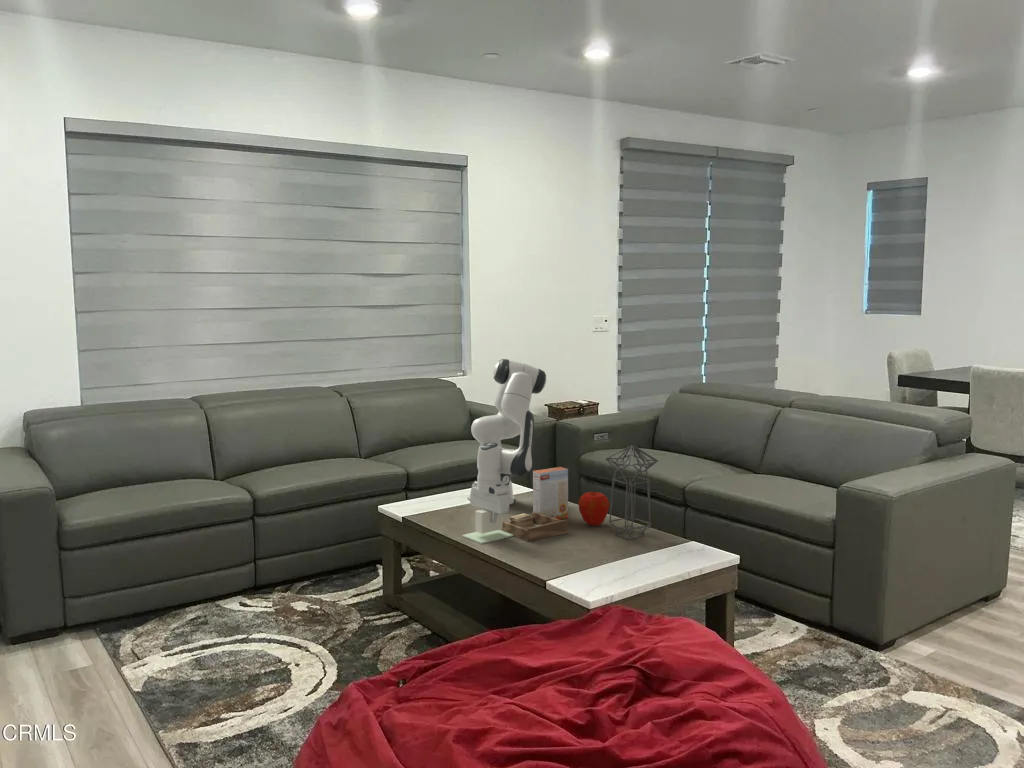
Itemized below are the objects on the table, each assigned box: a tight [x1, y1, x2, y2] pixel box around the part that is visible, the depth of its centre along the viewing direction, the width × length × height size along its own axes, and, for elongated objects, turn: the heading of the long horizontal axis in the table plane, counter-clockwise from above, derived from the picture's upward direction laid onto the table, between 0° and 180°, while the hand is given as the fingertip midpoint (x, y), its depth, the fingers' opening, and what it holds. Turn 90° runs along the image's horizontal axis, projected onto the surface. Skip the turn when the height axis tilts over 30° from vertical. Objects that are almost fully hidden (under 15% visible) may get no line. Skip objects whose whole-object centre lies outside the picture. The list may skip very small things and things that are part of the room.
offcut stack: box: [509, 512, 535, 529], centre depth 341 cm, size 4×10×5 cm, turn 135°
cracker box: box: [532, 466, 569, 520], centre depth 352 cm, size 14×6×21 cm, turn 122°
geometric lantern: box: [605, 445, 659, 540], centre depth 329 cm, size 16×16×35 cm
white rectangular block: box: [474, 509, 503, 534], centre depth 328 cm, size 4×10×8 cm, turn 130°
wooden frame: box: [500, 511, 569, 543], centre depth 336 cm, size 20×20×5 cm
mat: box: [461, 530, 514, 545], centre depth 329 cm, size 12×16×1 cm
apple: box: [577, 491, 611, 527], centre depth 344 cm, size 12×12×14 cm
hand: (489, 521), depth 328 cm, fingers closed on white rectangular block, 4 cm apart
